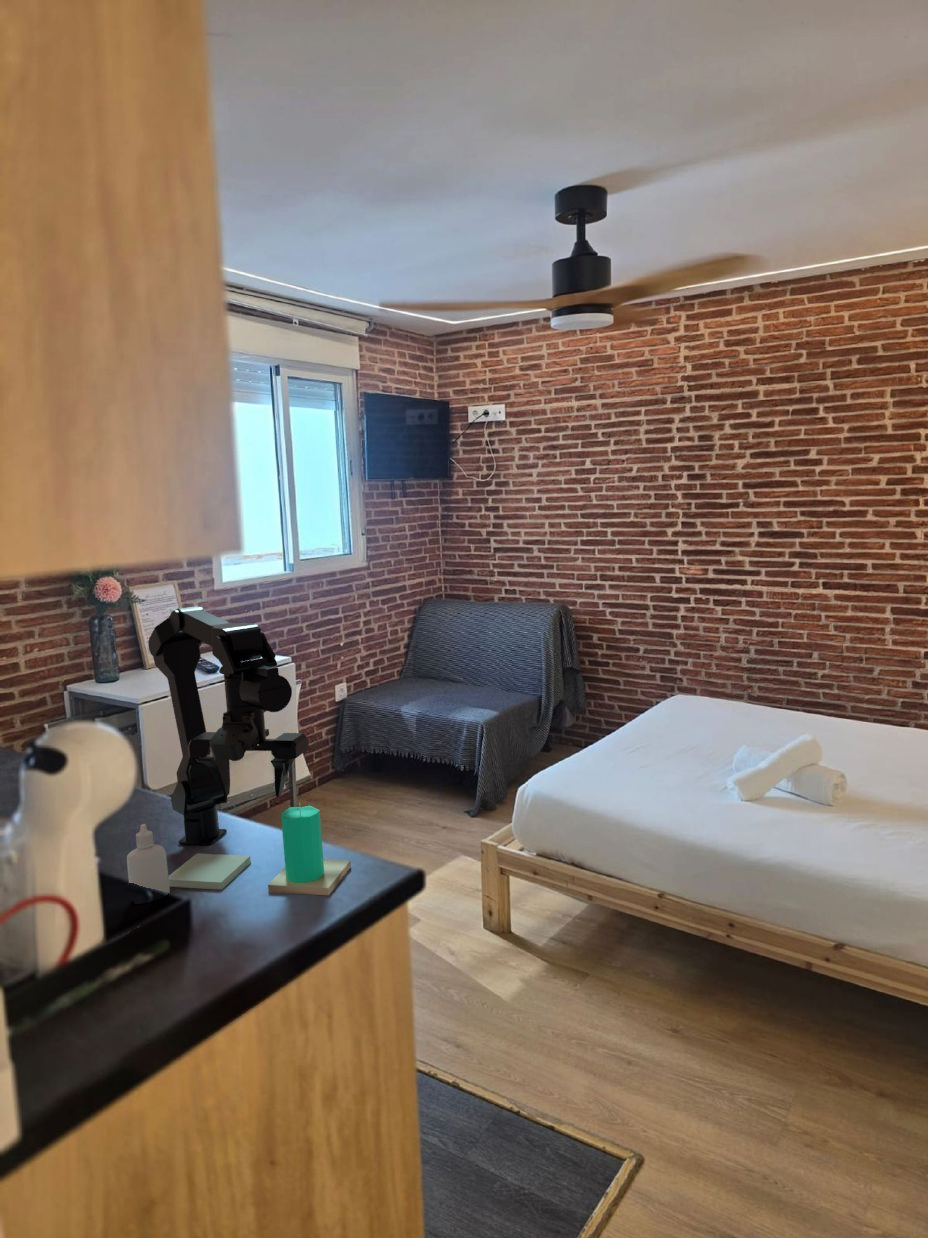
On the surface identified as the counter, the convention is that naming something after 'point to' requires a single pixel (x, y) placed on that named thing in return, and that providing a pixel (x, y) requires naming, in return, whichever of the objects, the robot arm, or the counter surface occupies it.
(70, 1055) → the counter surface
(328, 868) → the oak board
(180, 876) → the sage tile
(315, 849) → the candle
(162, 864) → the eye dropper bottle
